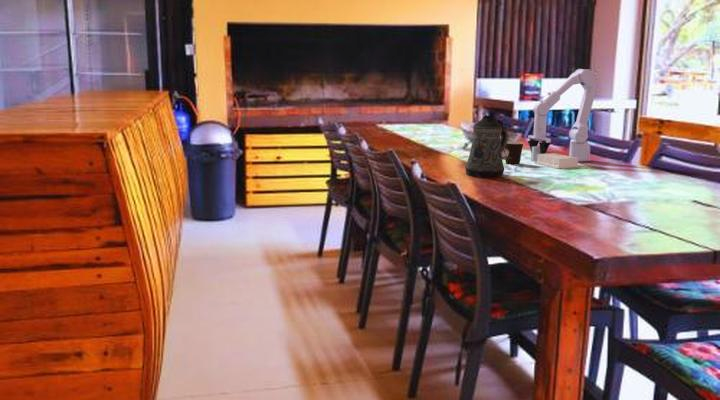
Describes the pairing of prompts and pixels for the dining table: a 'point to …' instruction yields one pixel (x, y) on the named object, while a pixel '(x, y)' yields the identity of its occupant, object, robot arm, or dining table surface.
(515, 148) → the coffee mug
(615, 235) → the dining table surface
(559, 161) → the dish rack
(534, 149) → the plate tile
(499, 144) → the beer stein
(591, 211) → the dining table surface
